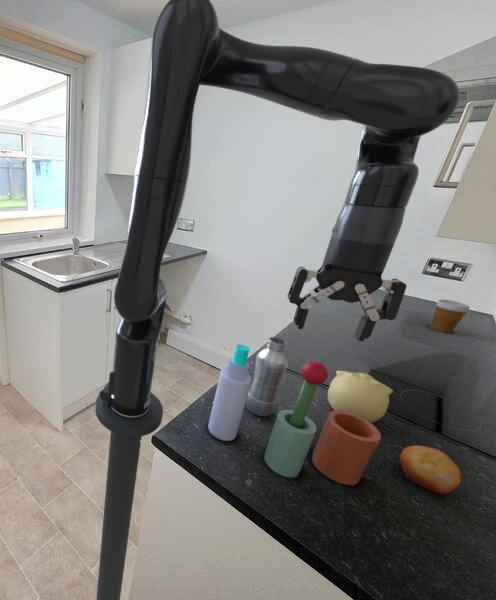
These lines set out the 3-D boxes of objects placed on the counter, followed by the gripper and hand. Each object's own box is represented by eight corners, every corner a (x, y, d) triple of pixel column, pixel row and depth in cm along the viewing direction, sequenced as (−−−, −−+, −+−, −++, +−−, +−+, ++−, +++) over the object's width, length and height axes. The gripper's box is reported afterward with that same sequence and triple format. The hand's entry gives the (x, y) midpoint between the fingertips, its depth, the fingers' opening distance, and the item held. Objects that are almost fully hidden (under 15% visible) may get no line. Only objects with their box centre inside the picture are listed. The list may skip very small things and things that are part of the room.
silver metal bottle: (271, 423, 74) (295, 351, 67) (241, 412, 77) (260, 341, 70) (273, 408, 79) (295, 339, 72) (244, 398, 82) (263, 331, 75)
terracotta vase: (315, 475, 61) (334, 432, 57) (308, 445, 68) (324, 405, 64) (365, 492, 58) (388, 447, 54) (352, 459, 65) (371, 418, 61)
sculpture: (380, 412, 80) (397, 377, 76) (377, 437, 71) (396, 399, 68) (327, 391, 87) (340, 358, 83) (319, 412, 79) (333, 376, 75)
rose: (272, 463, 62) (306, 365, 54) (271, 449, 66) (302, 355, 57) (295, 471, 61) (334, 372, 52) (292, 456, 64) (328, 360, 56)
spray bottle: (226, 446, 67) (249, 358, 59) (202, 428, 71) (221, 344, 63) (241, 434, 70) (265, 350, 62) (217, 418, 75) (237, 337, 67)
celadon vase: (265, 469, 62) (279, 426, 58) (263, 446, 67) (276, 405, 63) (302, 482, 60) (319, 438, 56) (297, 457, 65) (313, 416, 61)
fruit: (451, 471, 62) (470, 457, 57) (443, 507, 59) (462, 496, 54) (397, 446, 67) (410, 431, 62) (387, 479, 64) (399, 466, 59)
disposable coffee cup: (423, 322, 138) (435, 297, 133) (453, 329, 132) (467, 303, 128) (427, 329, 131) (440, 303, 126) (459, 337, 125) (474, 309, 121)
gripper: (312, 235, 46) (283, 332, 52) (437, 247, 41) (389, 353, 47) (303, 229, 53) (278, 316, 58) (411, 238, 47) (372, 333, 53)
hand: (328, 332), depth 53 cm, fingers open, 8 cm apart
